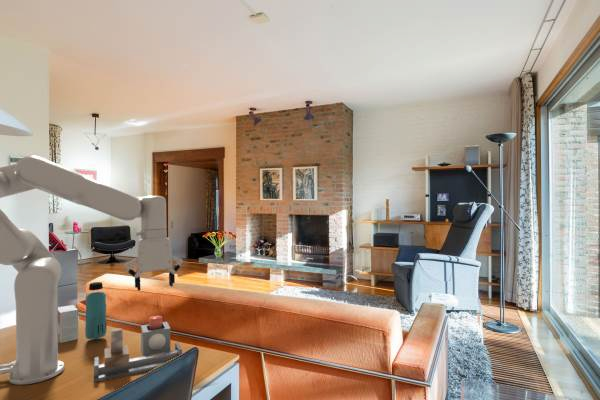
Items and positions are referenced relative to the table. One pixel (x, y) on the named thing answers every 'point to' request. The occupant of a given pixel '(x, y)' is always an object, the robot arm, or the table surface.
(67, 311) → the small box
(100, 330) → the beverage bottle
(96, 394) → the table surface
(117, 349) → the carriage
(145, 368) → the rail track
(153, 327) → the gauge button
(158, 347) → the gauge cabinet
